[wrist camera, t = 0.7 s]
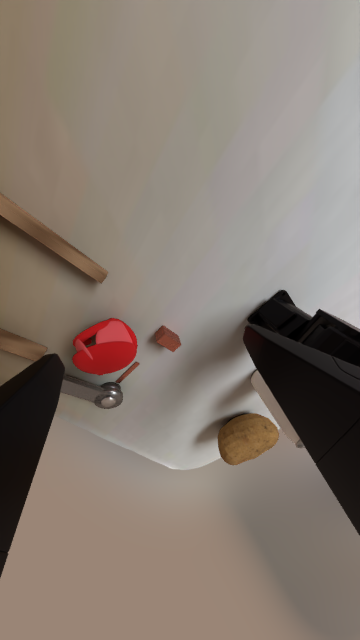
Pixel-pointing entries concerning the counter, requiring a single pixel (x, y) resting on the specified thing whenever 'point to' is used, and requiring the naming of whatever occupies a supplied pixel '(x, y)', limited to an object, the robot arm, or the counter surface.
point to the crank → (92, 392)
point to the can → (275, 408)
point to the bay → (59, 246)
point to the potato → (246, 438)
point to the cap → (105, 347)
